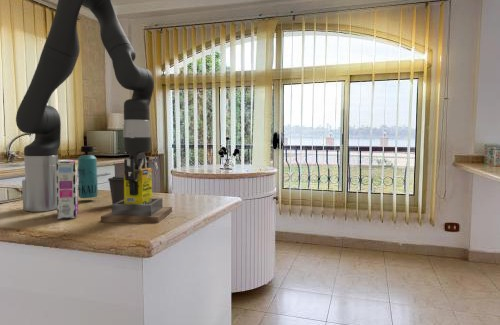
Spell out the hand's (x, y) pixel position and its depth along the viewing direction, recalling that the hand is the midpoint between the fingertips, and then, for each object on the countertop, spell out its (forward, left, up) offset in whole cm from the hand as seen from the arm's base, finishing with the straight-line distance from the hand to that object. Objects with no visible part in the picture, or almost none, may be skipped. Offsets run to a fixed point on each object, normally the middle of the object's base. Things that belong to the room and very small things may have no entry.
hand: (138, 192), depth 101 cm
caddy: (0, 0, -7) cm, 7 cm away
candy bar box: (-21, 0, -7) cm, 22 cm away
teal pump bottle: (-27, +23, -7) cm, 36 cm away
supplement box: (0, 0, -4) cm, 4 cm away
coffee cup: (-12, +16, -7) cm, 21 cm away
